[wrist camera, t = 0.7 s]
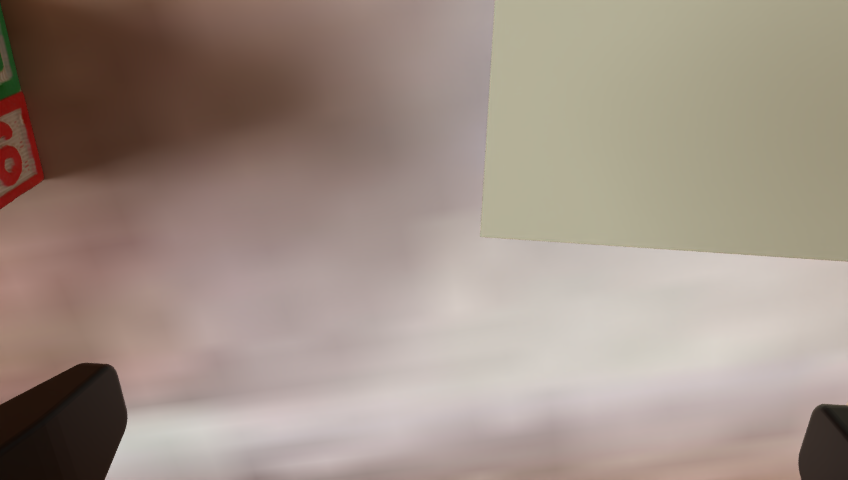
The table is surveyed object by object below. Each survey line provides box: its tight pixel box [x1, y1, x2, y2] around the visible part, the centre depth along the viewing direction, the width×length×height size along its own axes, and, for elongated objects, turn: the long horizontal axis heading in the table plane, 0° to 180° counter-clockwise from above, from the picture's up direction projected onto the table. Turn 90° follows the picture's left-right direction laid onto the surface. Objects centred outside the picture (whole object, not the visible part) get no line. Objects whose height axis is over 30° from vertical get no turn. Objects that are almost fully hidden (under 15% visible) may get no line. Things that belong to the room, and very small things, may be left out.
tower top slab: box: [480, 0, 848, 261], centre depth 16 cm, size 10×10×2 cm
